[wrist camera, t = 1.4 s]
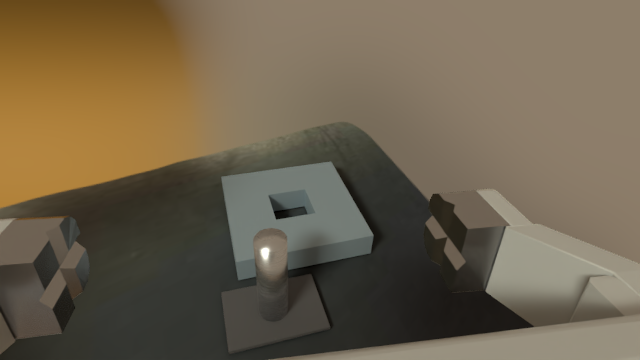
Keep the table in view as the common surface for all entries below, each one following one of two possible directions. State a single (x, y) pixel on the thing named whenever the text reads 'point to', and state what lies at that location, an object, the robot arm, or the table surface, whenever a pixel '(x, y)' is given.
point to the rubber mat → (255, 331)
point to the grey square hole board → (302, 231)
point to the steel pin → (271, 273)
